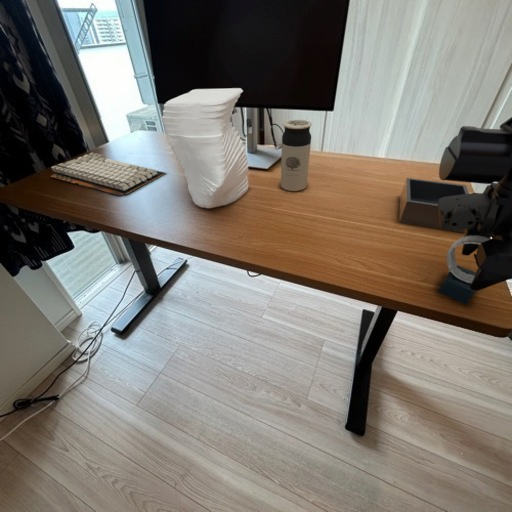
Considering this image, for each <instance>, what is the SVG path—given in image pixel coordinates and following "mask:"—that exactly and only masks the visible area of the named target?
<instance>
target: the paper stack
mask: <svg viewBox="0 0 512 512" xmlns="http://www.w3.org/2000/svg"><path fill="white" fill-rule="evenodd" d="M243 92H244V90H243V89H242V88H241V87H232V88H231V87H230V88H195V89H192V90H190V91H188V92H186V93H183V94H181V95H178V96H176V97H174V98H171V99H169V100H168V101H166V102H165V103H164V104H163V110H162V116H161V119H162V123H163V128H164V130H165V134H166V139H167V141H168V145H169V146H170V150H171V151H172V152H173V155H175V159H177V162H178V164H180V167H181V168H183V172H184V176H185V179H186V181H187V182H186V183H187V188H188V191H189V194H190V196H191V199H192V202H193V203H194V204H195V205H196V206H197V207H199V208H203V209H213V208H218V207H221V206H222V207H223V206H227V205H230V204H233V203H234V202H235V201H237V200H239V199H240V198H241V197H242V196H243V195H244V194H245V193H247V192H248V190H249V186H250V185H249V179H248V174H249V173H248V172H249V164H248V156H247V150H246V146H245V145H243V140H242V139H241V135H240V134H239V130H236V126H233V122H231V121H230V120H231V117H232V115H233V111H234V107H235V106H236V104H237V102H238V99H239V98H240V97H241V94H242V93H243Z"/></svg>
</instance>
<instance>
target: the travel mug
mask: <svg viewBox="0 0 512 512" xmlns="http://www.w3.org/2000/svg"><path fill="white" fill-rule="evenodd" d="M282 125H283V127H284V132H283V133H282V136H281V157H280V160H281V163H280V187H281V188H282V189H283V190H286V191H289V192H298V191H302V190H304V189H306V188H307V186H308V175H309V167H310V166H309V165H310V156H311V147H312V146H311V144H312V134H311V131H310V129H311V127H312V126H313V125H312V122H311V121H309V120H305V119H290V120H286V121H284V122H283V124H282Z"/></svg>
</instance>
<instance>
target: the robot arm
mask: <svg viewBox="0 0 512 512" xmlns="http://www.w3.org/2000/svg"><path fill="white" fill-rule="evenodd" d="M438 167H439V169H438V177H439V179H440V180H441V181H449V182H460V183H473V184H481V185H482V184H483V185H486V187H485V188H484V190H483V192H471V193H469V194H463V195H455V196H448V197H442V198H440V199H439V200H438V218H439V223H440V227H441V228H442V229H452V230H462V229H466V230H465V232H464V237H467V236H484V237H487V238H490V239H491V240H488V241H485V242H482V243H481V244H480V245H479V244H471V243H470V244H462V248H461V255H462V256H466V257H468V256H470V255H471V254H473V258H474V260H475V265H476V266H477V270H476V271H475V272H476V274H475V276H474V279H473V281H472V284H471V286H470V288H471V290H475V292H479V291H482V290H484V289H486V288H490V287H492V286H494V285H497V284H500V283H503V282H505V281H509V280H512V116H511V117H510V118H508V119H507V120H506V121H504V122H502V123H501V124H500V125H499V128H498V129H497V128H480V127H476V126H472V125H471V126H470V125H469V126H468V125H463V126H461V127H460V128H459V131H458V133H457V135H455V136H454V137H453V138H452V139H451V140H450V142H449V144H448V145H447V146H445V149H444V150H443V153H442V156H441V159H440V163H439V166H438ZM442 229H441V230H442ZM474 252H476V253H474Z"/></svg>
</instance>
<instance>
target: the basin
mask: <svg viewBox="0 0 512 512" xmlns="http://www.w3.org/2000/svg"><path fill="white" fill-rule="evenodd" d="M463 194H470V192H469V189H468V187H467V185H466V184H461V183H453V182H444V181H435V180H428V179H418V178H412V177H406V178H405V181H404V185H403V187H402V190H401V193H400V196H399V223H402V224H408V225H412V226H413V225H414V226H420V227H425V228H431V229H436V230H443V231H449V232H455V233H460V234H465V232H466V229H462V230H452V229H442V228H441V227H440V223H439V218H438V200H439V199H440V198H442V197H448V196H455V195H463Z"/></svg>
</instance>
